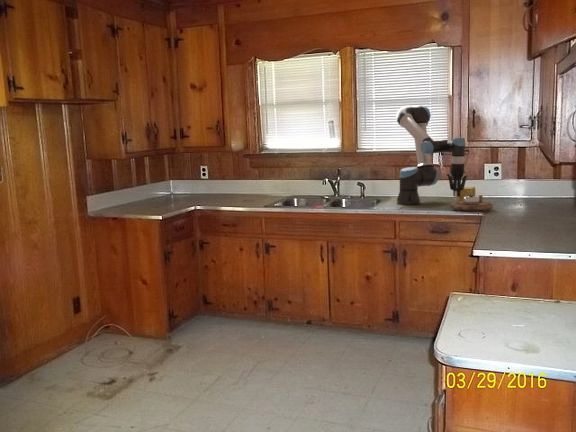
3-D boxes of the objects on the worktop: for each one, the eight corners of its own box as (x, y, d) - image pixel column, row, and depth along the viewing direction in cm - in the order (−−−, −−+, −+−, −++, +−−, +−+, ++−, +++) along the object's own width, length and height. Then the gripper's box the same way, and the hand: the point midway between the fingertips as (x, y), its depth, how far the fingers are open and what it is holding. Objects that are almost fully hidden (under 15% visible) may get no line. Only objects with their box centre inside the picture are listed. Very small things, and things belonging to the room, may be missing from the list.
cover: (460, 204, 332) (460, 194, 331) (468, 202, 338) (468, 192, 337) (474, 206, 325) (474, 195, 324) (481, 204, 331) (482, 194, 330)
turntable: (443, 207, 332) (443, 198, 331) (463, 202, 348) (463, 193, 347) (481, 211, 315) (481, 202, 314) (499, 205, 332) (500, 196, 331)
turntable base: (455, 210, 332) (455, 207, 332) (466, 207, 342) (466, 204, 341) (476, 212, 322) (477, 209, 322) (487, 209, 332) (488, 206, 331)
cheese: (470, 204, 353) (471, 188, 351) (454, 203, 359) (454, 188, 357) (475, 201, 362) (475, 186, 360) (458, 201, 368) (459, 186, 366)
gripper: (445, 163, 336) (443, 201, 340) (465, 164, 327) (463, 203, 331) (451, 162, 341) (449, 199, 346) (470, 163, 332) (469, 201, 337)
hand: (456, 201), depth 339 cm, fingers closed
